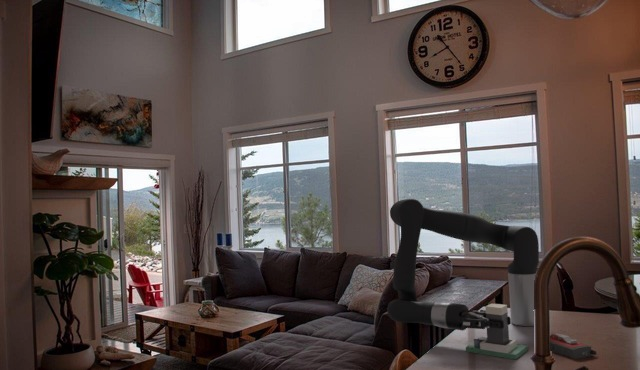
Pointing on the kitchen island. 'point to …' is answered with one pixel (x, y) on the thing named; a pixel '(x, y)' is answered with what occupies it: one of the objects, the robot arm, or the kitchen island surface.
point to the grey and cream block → (497, 334)
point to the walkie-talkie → (569, 347)
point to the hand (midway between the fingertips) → (506, 322)
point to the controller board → (497, 348)
